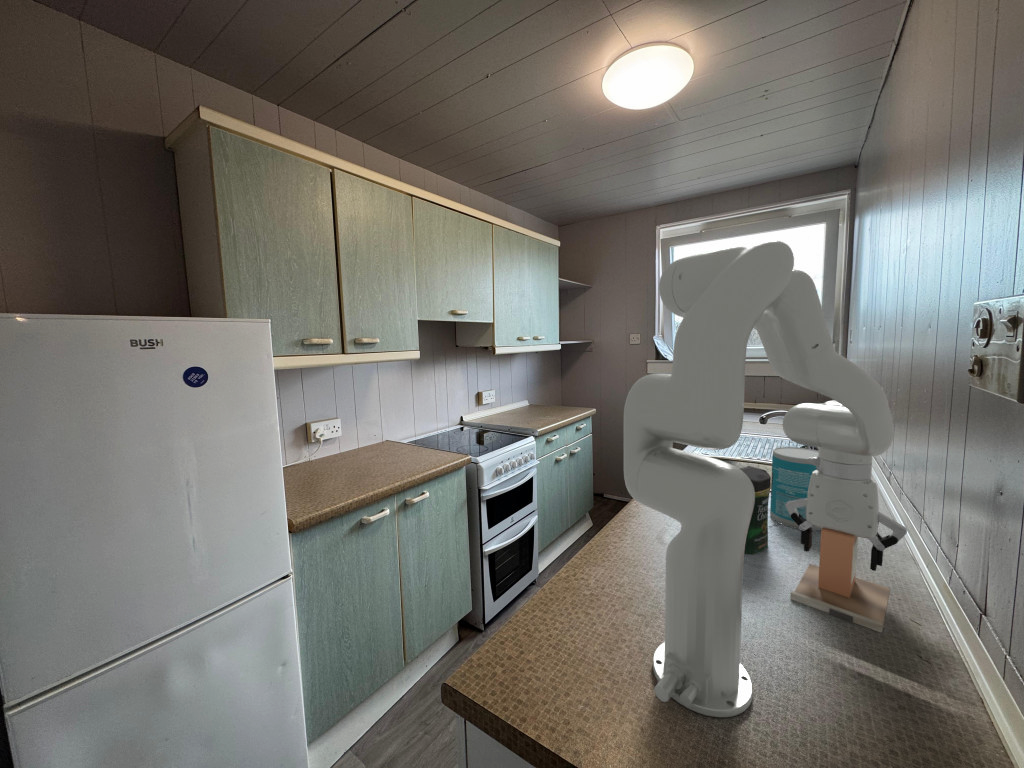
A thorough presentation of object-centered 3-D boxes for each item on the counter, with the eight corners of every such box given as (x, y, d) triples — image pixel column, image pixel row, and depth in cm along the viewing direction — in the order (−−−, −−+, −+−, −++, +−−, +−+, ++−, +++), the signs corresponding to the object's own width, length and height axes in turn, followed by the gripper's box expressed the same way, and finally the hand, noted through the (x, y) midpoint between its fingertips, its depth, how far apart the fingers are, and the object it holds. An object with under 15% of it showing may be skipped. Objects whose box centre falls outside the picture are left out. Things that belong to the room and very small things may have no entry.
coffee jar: (751, 563, 85) (754, 478, 83) (715, 547, 92) (717, 468, 90) (774, 550, 90) (777, 469, 89) (739, 536, 97) (741, 461, 95)
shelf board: (881, 640, 63) (882, 626, 63) (789, 605, 71) (790, 593, 71) (889, 594, 74) (890, 582, 74) (809, 569, 83) (810, 558, 82)
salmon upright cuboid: (855, 581, 76) (859, 525, 75) (850, 598, 71) (854, 538, 70) (825, 571, 79) (828, 518, 78) (818, 587, 75) (821, 530, 74)
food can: (761, 510, 111) (763, 446, 110) (808, 511, 110) (811, 446, 108) (785, 530, 100) (788, 459, 98) (838, 531, 98) (842, 459, 96)
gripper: (782, 464, 77) (779, 549, 79) (909, 485, 64) (902, 585, 66) (792, 455, 82) (789, 535, 84) (911, 473, 70) (905, 567, 71)
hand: (839, 557), depth 75 cm, fingers open, 9 cm apart
